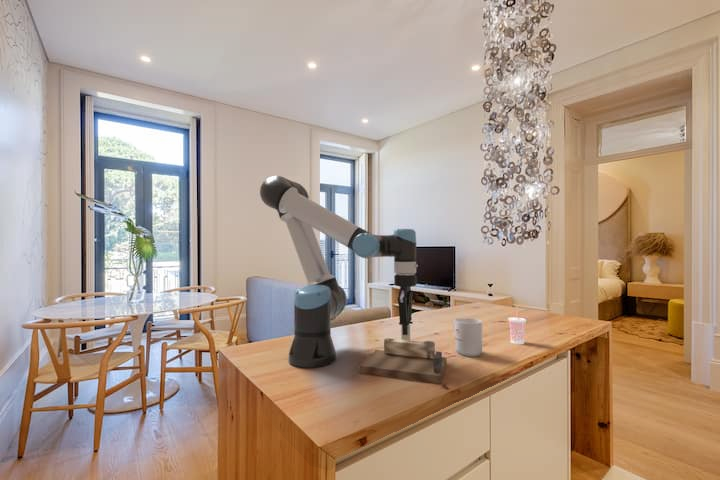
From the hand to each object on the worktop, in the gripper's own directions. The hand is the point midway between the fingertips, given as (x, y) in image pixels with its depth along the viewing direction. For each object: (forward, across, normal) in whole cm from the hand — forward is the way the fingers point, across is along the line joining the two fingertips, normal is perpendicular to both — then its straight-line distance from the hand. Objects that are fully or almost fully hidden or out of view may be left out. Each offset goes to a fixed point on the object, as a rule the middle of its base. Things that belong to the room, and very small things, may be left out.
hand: (405, 343), depth 112 cm
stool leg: (+1, -7, -2) cm, 8 cm away
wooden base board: (+4, -13, -2) cm, 14 cm away
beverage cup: (+4, +29, -37) cm, 47 cm away
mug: (+4, +10, -19) cm, 22 cm away
